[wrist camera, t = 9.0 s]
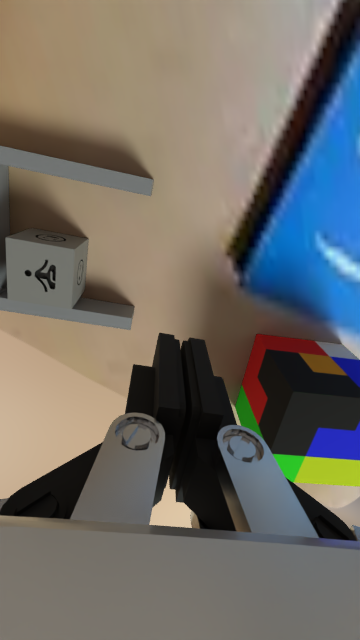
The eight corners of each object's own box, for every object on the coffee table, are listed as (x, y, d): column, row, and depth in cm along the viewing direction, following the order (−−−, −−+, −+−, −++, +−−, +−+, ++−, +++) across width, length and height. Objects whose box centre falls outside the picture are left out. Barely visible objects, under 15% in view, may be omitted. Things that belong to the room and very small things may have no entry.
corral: (-8, 143, 24) (-30, 139, 21) (153, 179, 26) (152, 179, 23) (-2, 295, 29) (-19, 307, 27) (132, 316, 31) (130, 329, 28)
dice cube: (85, 289, 30) (71, 309, 25) (31, 281, 29) (7, 299, 24) (88, 238, 28) (74, 249, 23) (31, 227, 27) (5, 237, 22)
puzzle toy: (341, 344, 34) (408, 403, 25) (312, 413, 38) (359, 486, 29) (256, 333, 33) (293, 391, 24) (235, 406, 37) (259, 480, 28)
